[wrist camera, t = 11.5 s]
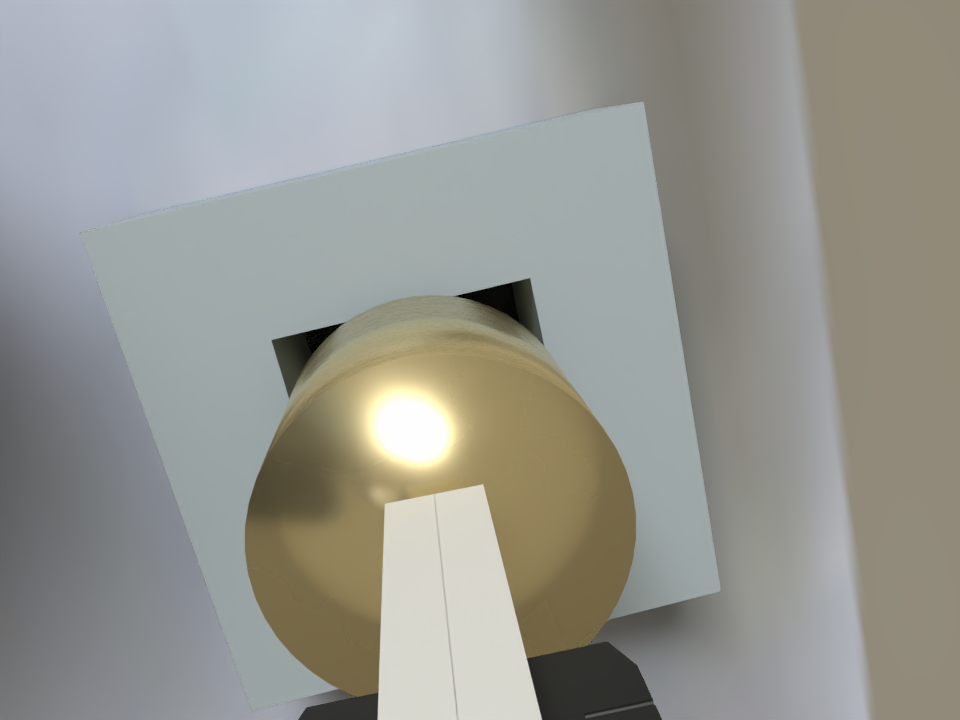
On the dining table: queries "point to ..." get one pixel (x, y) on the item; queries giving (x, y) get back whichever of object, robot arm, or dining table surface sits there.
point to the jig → (395, 275)
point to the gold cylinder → (434, 481)
